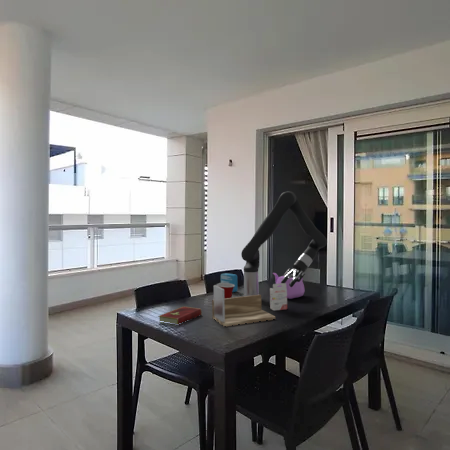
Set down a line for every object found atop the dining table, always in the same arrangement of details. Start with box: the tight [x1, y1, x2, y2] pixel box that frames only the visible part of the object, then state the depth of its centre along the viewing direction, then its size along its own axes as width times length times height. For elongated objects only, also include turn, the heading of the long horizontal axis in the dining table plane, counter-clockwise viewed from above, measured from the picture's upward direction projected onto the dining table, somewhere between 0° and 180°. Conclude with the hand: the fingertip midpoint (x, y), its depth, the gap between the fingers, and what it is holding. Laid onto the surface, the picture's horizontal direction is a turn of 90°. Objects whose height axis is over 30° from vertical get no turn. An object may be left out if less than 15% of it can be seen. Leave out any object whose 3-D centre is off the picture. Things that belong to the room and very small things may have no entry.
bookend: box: [213, 284, 225, 322], centre depth 180 cm, size 12×1×16 cm, turn 22°
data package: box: [220, 273, 239, 293], centre depth 253 cm, size 12×4×12 cm, turn 48°
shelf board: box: [211, 294, 276, 327], centre depth 185 cm, size 16×28×10 cm, turn 112°
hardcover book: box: [157, 306, 202, 324], centre depth 187 cm, size 12×21×4 cm, turn 150°
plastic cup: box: [216, 282, 235, 299], centre depth 217 cm, size 11×11×12 cm
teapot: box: [272, 272, 306, 300], centre depth 237 cm, size 23×21×15 cm
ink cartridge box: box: [269, 283, 288, 311], centre depth 203 cm, size 9×5×15 cm, turn 105°
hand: (286, 284), depth 205 cm, fingers open, 8 cm apart
